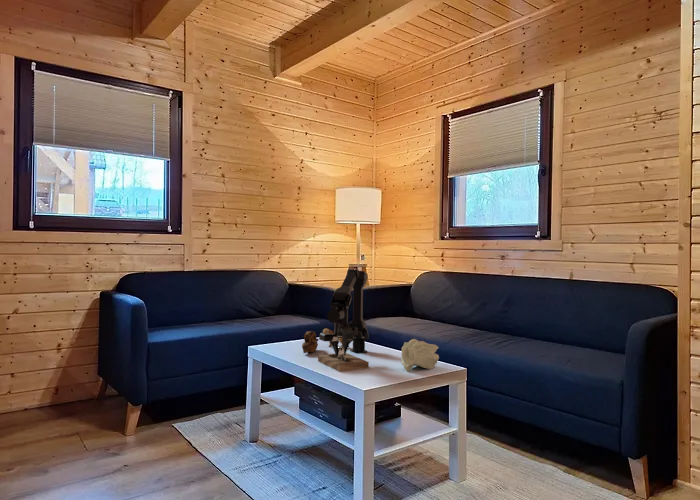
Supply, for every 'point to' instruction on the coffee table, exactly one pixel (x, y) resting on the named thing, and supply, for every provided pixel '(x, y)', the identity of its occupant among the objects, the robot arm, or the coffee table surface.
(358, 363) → the keyhole plate
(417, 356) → the folded clay sculpture
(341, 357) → the steel peg
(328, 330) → the lion figurine
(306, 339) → the wooden carving
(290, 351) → the coffee table surface
